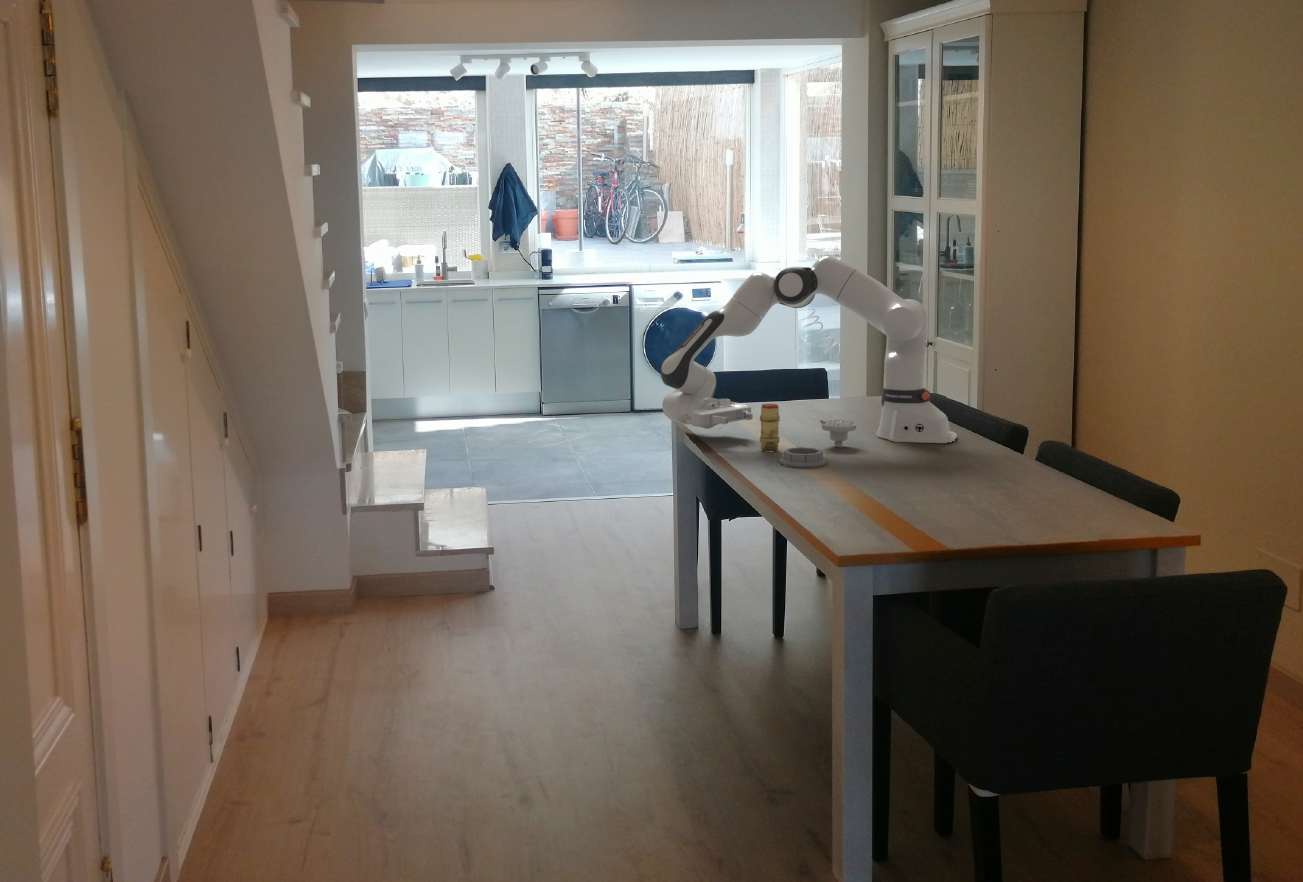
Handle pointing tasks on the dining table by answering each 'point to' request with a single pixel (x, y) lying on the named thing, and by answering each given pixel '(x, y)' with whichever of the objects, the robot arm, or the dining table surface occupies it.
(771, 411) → the cylinder
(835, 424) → the showerhead
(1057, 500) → the dining table surface
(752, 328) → the robot arm
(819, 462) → the flange fitting
